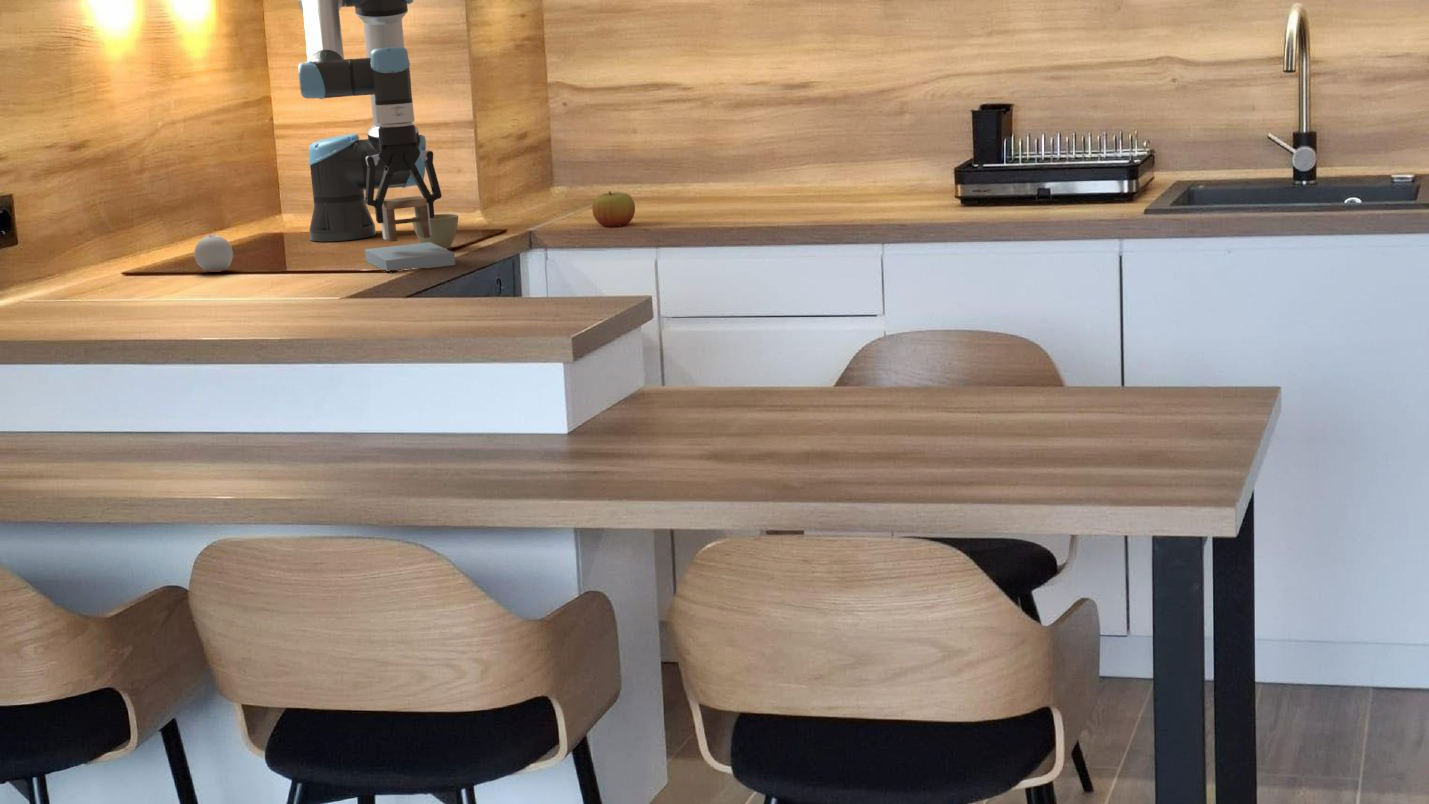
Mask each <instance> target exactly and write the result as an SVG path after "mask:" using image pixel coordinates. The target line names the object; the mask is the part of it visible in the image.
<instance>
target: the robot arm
mask: <svg viewBox="0 0 1429 804" xmlns="http://www.w3.org/2000/svg"><path fill="white" fill-rule="evenodd" d="M413 2H414V0H297V4H298V7H299V9H300V10H301V12H302V13H303V23H304V25H303V26H304V34H305V35H304V36H305V48H306V49H305V51H306V59H307V61H303V62H302V61H301V62H300V63H298V66H297V67H298V80H299V89H300V94H301V96H302V97H303V98H304V99H319V100H323V99H330V98H332V99H333V98H343V97H344V98H345V97H356V96H357V97H358V96H361V97H362V96H370V104H371V113H372V115H371V116H372V123H373V124H372V126H371V127H370V128H369V129H368V130H367V138H366V139H360V136H359V135H358V134H357V133H350V134H344V135H338V136H333V137H328V138H323V139H320V140H317V141H315V142H313V143H311V144H310V145H309V146H308V147H309V148H308V158H309V159H308V166H310V167H309V168H310V169H309V170H310V177H311V179H310V180H311V188H312V197H313V210H312V211H313V212H312V215H311V216H312V217H311V219H310V225H309V231H308V232H309V240H310V241H312V242H343V241H352V240H359V239H360V240H361V239H365V238H371V237H375V235H377V231H376V230H377V229H376V225H375V221H376V222H377V224H381V233H382V238H383V239H384V240H385V241H389V229H388V219H387V209H386V207H382V205H383V202H384V200H385V199H386V195H387V193H388V189H394V188H395V189H396V188H403V189H406V188H408V187H414V186H415V187H416V186H417V188H418V190H419V192H420V193H421V195H422V197H423V198H426V201H427V212H428V222H429V232H430V235H431V224H430V218H434V214H435V207H434V203H435V202H436V201H437V200H439V199H441V198H442V196H443V195H442V192H441V188H440V184H439V181H438V177H437V172H436V170H435V165H434V151H432V150H429V149H428V150H427V148H426V145H427V144H426V141H427V140H426V136H425V135H423V134H419V133H420V132H419V128H418V126H417V125H415V124H414V122H415V114H414V113H415V112H414V103H413V94H412V80H411V79H412V78H411V70H410V66H411V65H410V63H411V62H410V59H409V53H408V49H407V48H406V47H405V40H404V30H403V18H404V17H405V15H406V14H408V12H409V11H408V10H409V9H408V8H409V7H408V5H411V4H413ZM343 7H344V8H345V7H346V8H349V7H354V11H355V13H354V14H355V16H357V17H358V18H359V19H360V20H361V21H362V24H363V31H364V32H363V33H364V41H365V52H366V57H364V58H363V57H362V58H361V57H360V58H347V59H345V55H344V45H343V37H342V36H343V35H342V27H341V19H340V16H341V15H340V10H341V8H343ZM425 174H427V178H428V182H429V184H430V189H431V192H432V194H431V192H430V190H429V189H428V186H427V184H426V183H425V181H424V180H425ZM375 190H377V192H376V195H375ZM375 196H376V197H375ZM374 197H375V198H374ZM374 199H375V200H374ZM367 205H368V206H371V207H373V208H374V210H375V211H374V212H375V221H374V220H373V218H372V216H371V213H370V209H368V206H367Z"/></svg>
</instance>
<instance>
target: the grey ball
mask: <svg viewBox="0 0 1429 804" xmlns="http://www.w3.org/2000/svg"><path fill="white" fill-rule="evenodd" d="M194 248H195V249H194V253H193V254H194V259H195V262H196V263H197V265H198V266H199V267H200V268H201V269H202V270H204V271H205V270H212V271H213V270H214V271H218V270H224V271H225V270H227V269H228V267H229V266H230V265H231V263H232V261H233V258H234V252H233V248H232V245H231V243H230V242H229V241H228V240H227V239H226V238H224V237H222V236H220V235H217V234H210V233H209V234H208V235H207V236H205V237H203V238H201V239H200V240H199V241H198V242H197V244H196V245H195V247H194Z"/></svg>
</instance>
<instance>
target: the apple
mask: <svg viewBox="0 0 1429 804" xmlns="http://www.w3.org/2000/svg"><path fill="white" fill-rule="evenodd" d="M635 205H636V204H635V201H634V199H633V198H632V196H631V195H630V194H628V193H625V192H618V191H617V192H611V191H610V190H609V191H608V192H607V193H603V194H602V193H601V194H600V195H598V196H597V197H596V198H595V199H594V200H593V202H592V207H591V209H592V215H593V217H594V219H595V221H596V222H597V223H598V224H599V225H601V226H602V227H605V226H608V227H607V228H610V227H609V226H619V225H624V226H626V224H627V225H628V224H629V223H631V221H632V220H633V218H634V215H635V214H636V206H635ZM619 227H620V226H619Z"/></svg>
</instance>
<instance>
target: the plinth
mask: <svg viewBox="0 0 1429 804" xmlns="http://www.w3.org/2000/svg"><path fill="white" fill-rule="evenodd" d="M364 256H365V261H366V263H368V264H369V265H372V266H374V265H375V266H374V267H376V266H377V267H379V268H383V269H385V270H386V271H390V270H399V269H403V270H404V269H412V268H425V269H433V268H441V267H442V268H443V267H449V266H456V257H455V252H454V251H451V250H449V249H445V248H442V247H440V246H438V245H435V244H433V243H431V242H427V243H421V242H419V243H412V244H401V245H394V246H385V247H374V248H365V249H364ZM377 267H376V268H377ZM379 268H378V269H379Z"/></svg>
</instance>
